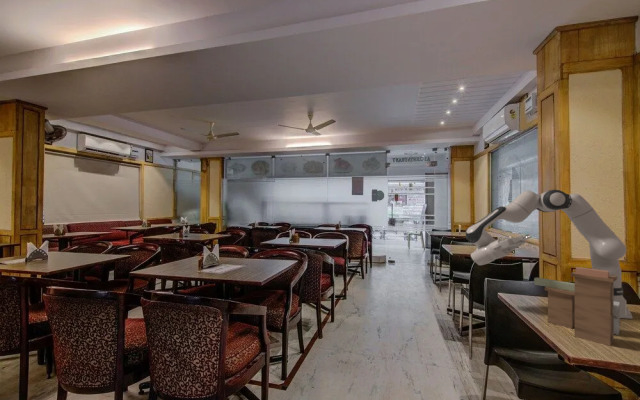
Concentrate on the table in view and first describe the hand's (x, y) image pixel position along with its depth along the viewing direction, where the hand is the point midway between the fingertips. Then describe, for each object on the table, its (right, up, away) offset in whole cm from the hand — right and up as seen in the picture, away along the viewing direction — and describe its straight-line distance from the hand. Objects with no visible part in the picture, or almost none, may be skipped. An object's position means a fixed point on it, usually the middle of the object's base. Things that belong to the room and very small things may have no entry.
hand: (526, 236), depth 158 cm
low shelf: (+9, -39, -12) cm, 41 cm away
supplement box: (+23, -39, -19) cm, 49 cm away
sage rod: (+9, -23, -11) cm, 27 cm away
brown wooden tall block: (+9, -38, -28) cm, 48 cm away
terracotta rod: (+7, -12, -30) cm, 33 cm away
